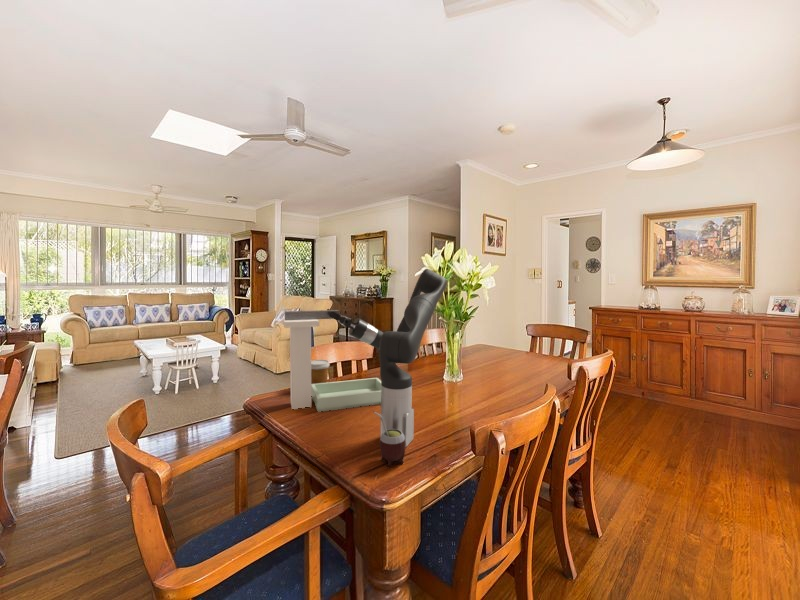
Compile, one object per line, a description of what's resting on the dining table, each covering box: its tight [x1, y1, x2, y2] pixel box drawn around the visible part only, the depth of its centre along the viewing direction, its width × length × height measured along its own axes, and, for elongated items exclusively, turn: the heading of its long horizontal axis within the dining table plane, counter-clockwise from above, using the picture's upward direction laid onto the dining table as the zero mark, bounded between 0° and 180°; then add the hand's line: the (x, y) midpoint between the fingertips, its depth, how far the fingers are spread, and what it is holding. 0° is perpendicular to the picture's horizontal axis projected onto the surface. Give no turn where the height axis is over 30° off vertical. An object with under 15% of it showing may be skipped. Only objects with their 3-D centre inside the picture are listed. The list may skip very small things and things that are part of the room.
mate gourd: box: [373, 411, 407, 469], centre depth 93 cm, size 8×8×15 cm
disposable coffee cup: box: [311, 359, 331, 384], centre depth 153 cm, size 10×10×12 cm
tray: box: [311, 377, 381, 413], centre depth 141 cm, size 28×18×5 cm, turn 111°
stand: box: [282, 317, 320, 410], centre depth 133 cm, size 12×13×33 cm
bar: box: [284, 309, 341, 320], centre depth 133 cm, size 20×3×3 cm, turn 111°
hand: (328, 312), depth 135 cm, fingers open, 8 cm apart
